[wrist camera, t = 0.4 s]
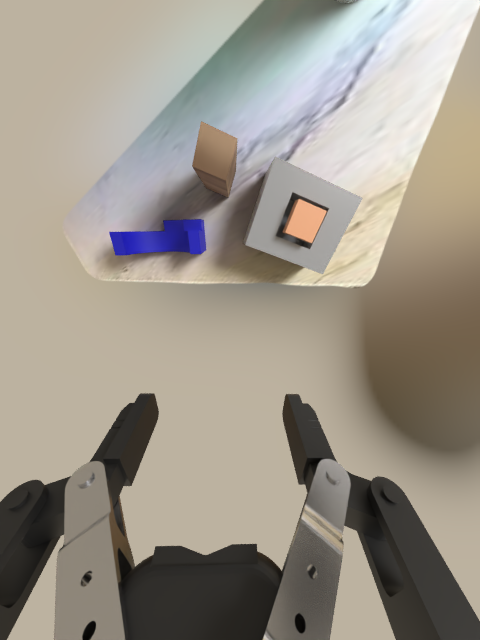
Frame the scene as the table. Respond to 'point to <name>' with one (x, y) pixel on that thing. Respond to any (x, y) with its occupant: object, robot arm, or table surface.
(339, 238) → the box
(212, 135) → the brown wooden plank
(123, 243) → the blue bent block
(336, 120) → the table surface
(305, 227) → the button
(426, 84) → the table surface
